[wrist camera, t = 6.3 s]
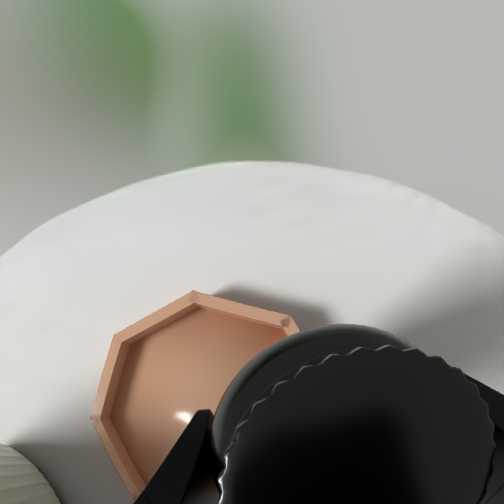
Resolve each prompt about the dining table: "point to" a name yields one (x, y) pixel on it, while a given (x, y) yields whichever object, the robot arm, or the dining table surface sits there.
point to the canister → (22, 480)
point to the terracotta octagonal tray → (174, 375)
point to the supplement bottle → (350, 425)
